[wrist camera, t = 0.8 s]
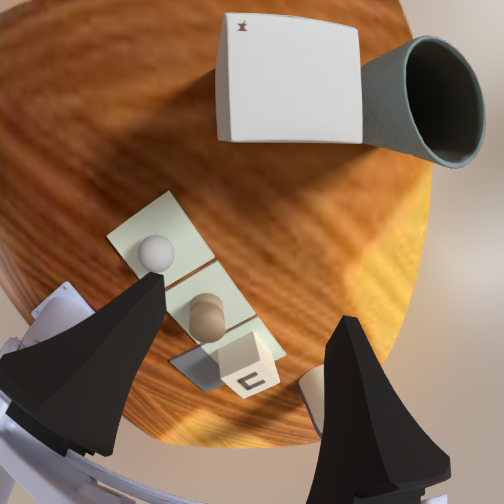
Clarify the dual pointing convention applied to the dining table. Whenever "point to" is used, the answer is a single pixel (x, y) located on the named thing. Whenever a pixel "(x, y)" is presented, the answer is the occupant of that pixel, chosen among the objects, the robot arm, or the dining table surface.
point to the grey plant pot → (424, 103)
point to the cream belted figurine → (314, 396)
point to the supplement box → (287, 80)
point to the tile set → (186, 260)
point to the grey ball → (156, 253)
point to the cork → (206, 318)
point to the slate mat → (199, 368)
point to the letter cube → (247, 365)
